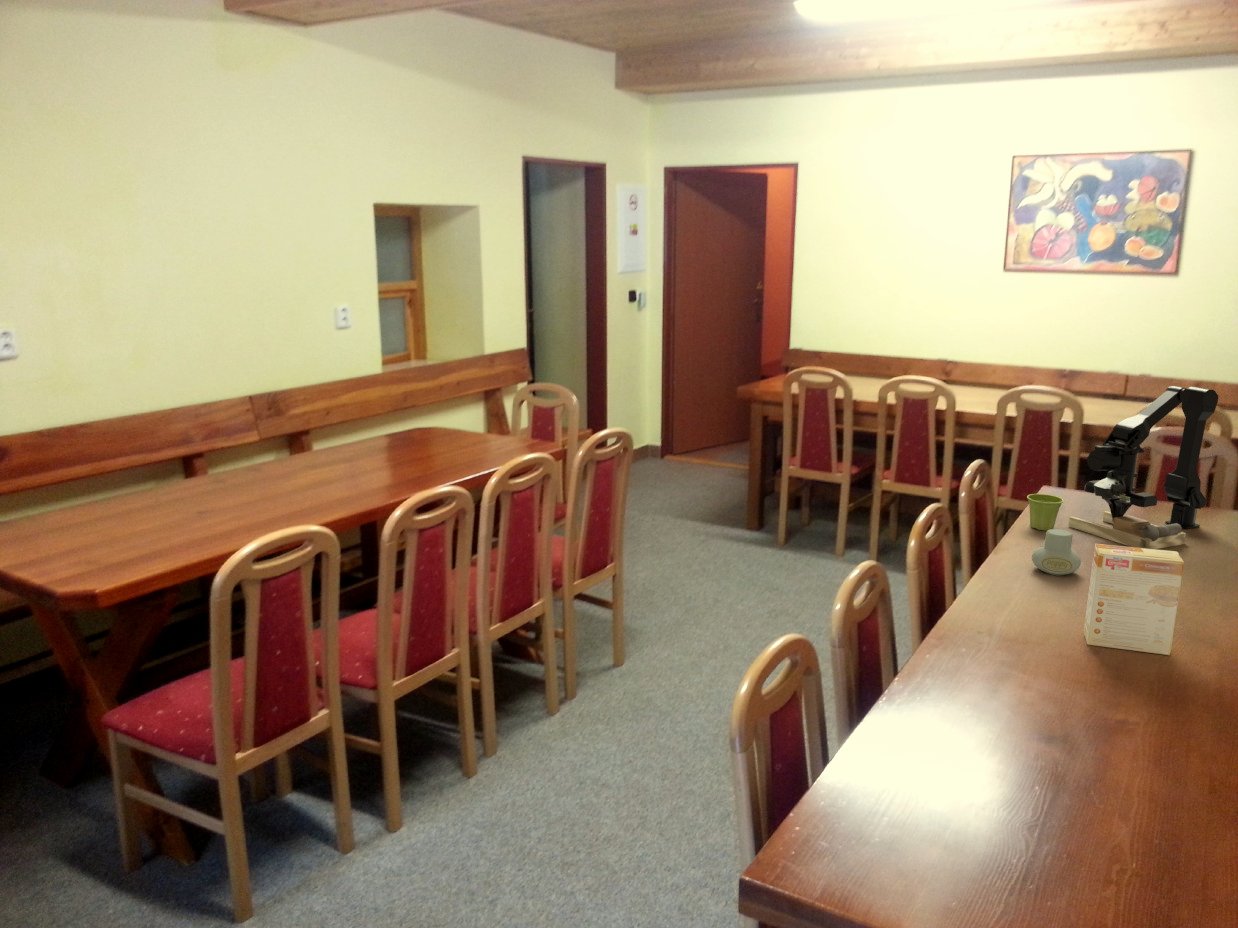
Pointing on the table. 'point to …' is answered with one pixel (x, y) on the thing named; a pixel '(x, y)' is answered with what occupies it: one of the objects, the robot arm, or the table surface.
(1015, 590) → the table surface
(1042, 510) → the plant pot
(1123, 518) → the box
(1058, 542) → the air freshener
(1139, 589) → the coffeecake box
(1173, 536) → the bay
